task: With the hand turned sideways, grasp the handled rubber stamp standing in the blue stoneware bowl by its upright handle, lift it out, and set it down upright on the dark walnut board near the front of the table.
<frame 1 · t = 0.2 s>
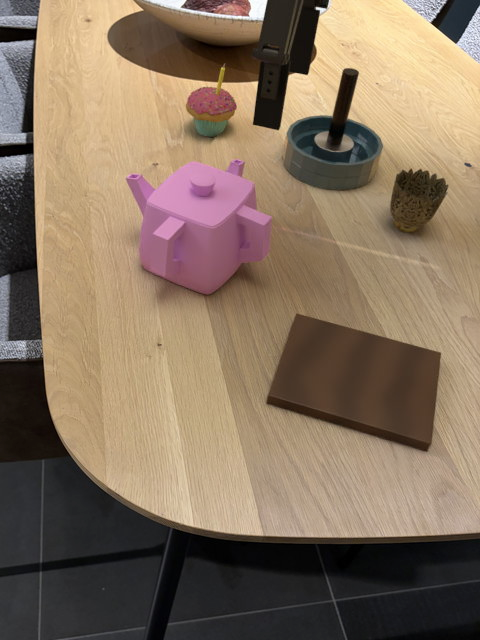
hand: (282, 97, 65), 24 cm above the table, tool pointing down, fingers open, 13 cm apart
teakettle: (196, 254, 85), on the table
bowl: (328, 166, 101), on the table
handled rubber stamp: (328, 163, 100), point 1 cm above the table, touching bowl
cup: (403, 229, 91), on the table
cupcake: (209, 131, 107), on the table
board: (354, 381, 71), on the table
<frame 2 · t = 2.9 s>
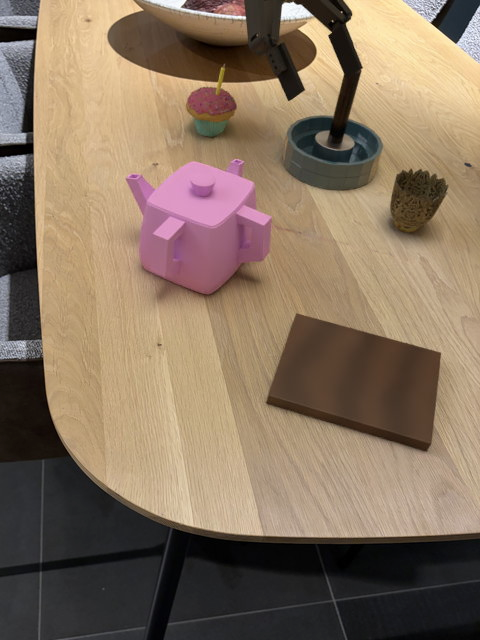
hand: (326, 84, 84), 16 cm above the table, tool tilted 45°, fingers open, 13 cm apart
handled rubber stamp: (328, 162, 100), point 1 cm above the table, touching bowl, gripper
everything else where it was.
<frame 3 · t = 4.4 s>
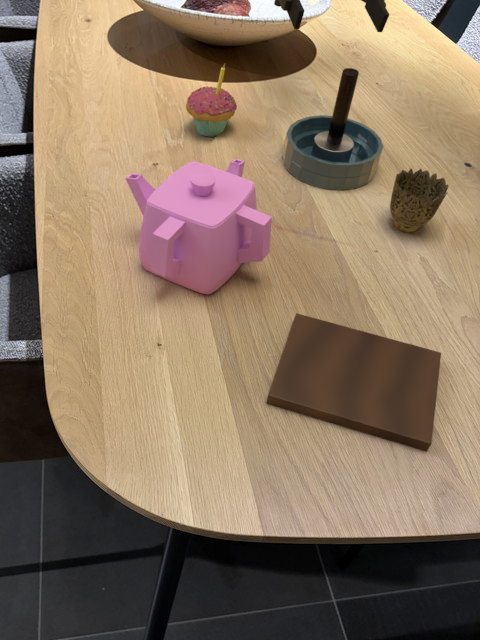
hand: (342, 22, 89), 20 cm above the table, tool horizontal, fingers open, 13 cm apart
handled rubber stamp: (328, 163, 100), point 1 cm above the table, touching bowl
everything else where it was.
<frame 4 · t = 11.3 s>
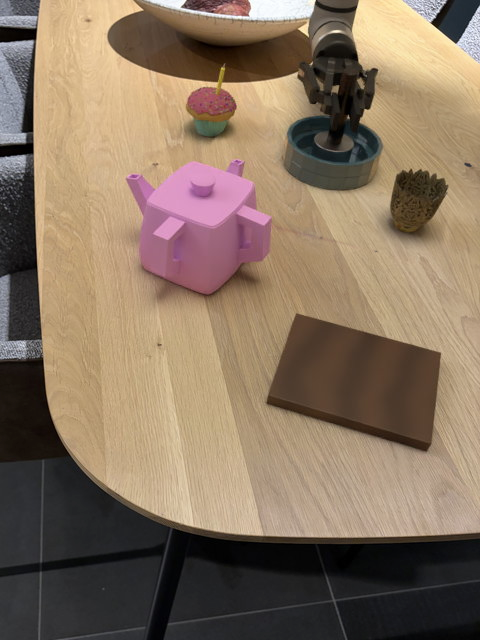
hand: (346, 122, 89), 11 cm above the table, tool horizontal, fingers closed on handled rubber stamp, 2 cm apart
handled rubber stamp: (328, 163, 100), point 1 cm above the table, touching gripper
everything else where it was.
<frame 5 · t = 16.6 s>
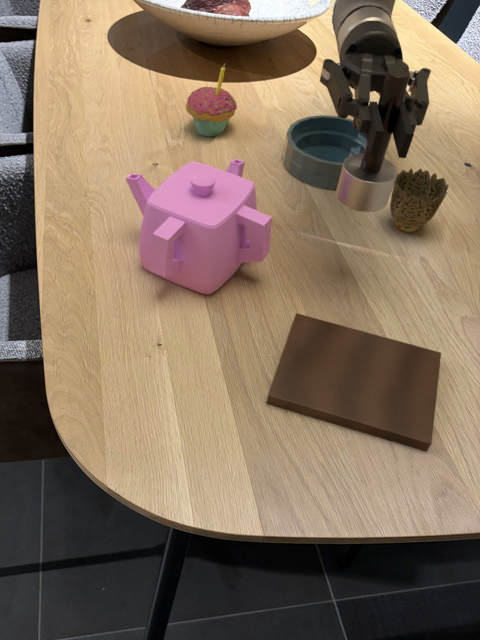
hand: (391, 144, 63), 22 cm above the table, tool horizontal, fingers closed on handled rubber stamp, 2 cm apart
handled rubber stamp: (361, 196, 74), point 12 cm above the table, touching gripper
everything else where it was.
when the fingers open (11 cm above the table, at t = 22.1 s): handled rubber stamp stays where it is, resting on board.
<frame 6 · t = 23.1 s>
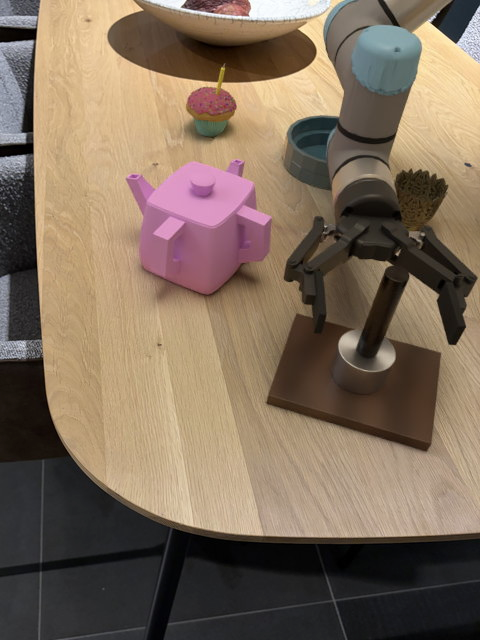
hand: (388, 330, 60), 12 cm above the table, tool horizontal, fingers open, 13 cm apart
handled rubber stamp: (357, 372, 70), point 1 cm above the table, touching board
everything else where it was.
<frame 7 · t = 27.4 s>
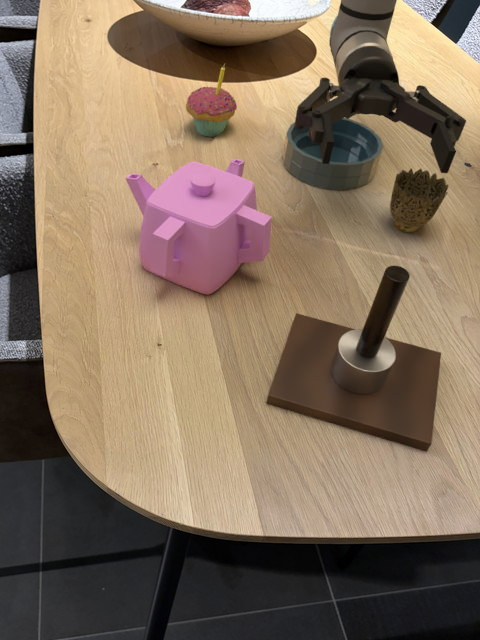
hand: (388, 157, 68), 19 cm above the table, tool horizontal, fingers open, 13 cm apart
nothing on the table moved.
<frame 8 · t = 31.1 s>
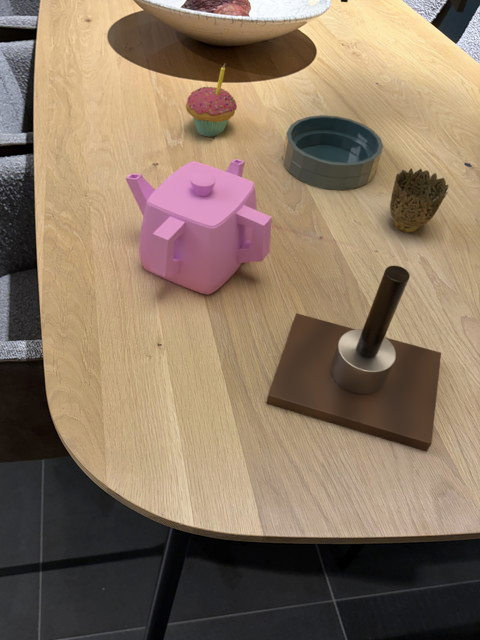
nothing on the table moved.
at the end: handled rubber stamp inside the target area on the board (0.0 cm from its centre), point 1.5 cm above the board's base; handled rubber stamp tilted 0°; the gripper is holding nothing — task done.
